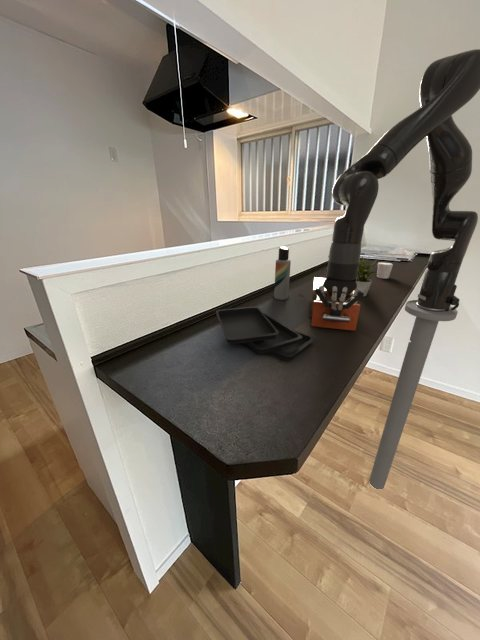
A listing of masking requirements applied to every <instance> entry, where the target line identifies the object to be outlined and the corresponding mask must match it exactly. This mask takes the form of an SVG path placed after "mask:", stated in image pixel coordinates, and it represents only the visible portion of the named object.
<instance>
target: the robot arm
mask: <svg viewBox="0 0 480 640" xmlns="http://www.w3.org/2000/svg"><path fill="white" fill-rule="evenodd" d="M479 91H480V48H479V49H478V48H477V49H476V48H475V49H471V50H467V51H461V52H459V53H456V54H452V55H449V56H445V57H442V58H438V59H437V60H434V61H432V62H431V63H430V64H429V65H428V67H427V68H426V70H425V71H424V73H423V75H422V78H421V80H420V85H419V105H420V107H419V108H417V109H416V110H415V111H414V112H412V113H410V114H409V115H407V116H405V117H404V118H403V119H401V120H400V121H398V122H397V123H396V124H394V125H393V126H391V127H390V128H389V129H388V130H387V131H386V132H385V133H384V134H383V135H382V136H381V137H380V138H379V140H377V142H376V143H375V144H374V145H373V146H372V147H371V148H370V149H369V151H368V152H367V153H366V154H365V155H363V156H362V157H360V158H359V159H358V160H357V161H355V162H354V163H352V164H351V165H350V166H349V167H348V168H346V169H345V170H343V172H342V173H341V174H340V175H339V176H338V178H337V179H336V180H335V182H334V184H333V187H332V191H331V194H332V199H333V201H334V202H335V203H336V204H337V205H340V206H346V207H347V208H346V211H345V213H344V214H343V216H340V217H337V218H336V219H335V221H334V224H333V229H332V237H331V242H330V248H329V252H328V260H327V268H326V275H325V278H326V279H325V281H324V283H323V285H321V286H320V287H316V289H315V292H316V294H317V295H318V296H319V298H320V299H321V301H322V302H323V304H324V305H325V306H326V307H329V308H330V315H335V316H341V311H342V309H345V308H346V309H348V308H350V307H351V306H352V305H353V304H354V303H355V302H357V301H358V302H359V300H360V299H361V298H363V297H364V296H363V295H364V293H363V291H362V290H360V289H359V288H358V287H357V284H356V278H358V274H357V271H358V267H359V266H358V265H359V263H360V259H361V253H362V242H363V236H364V229H365V225H366V223H367V221H368V219H369V216H370V214H371V211H372V210H373V207H374V205H375V203H376V200H377V197H378V194H379V187H380V185H379V179H383V178H385V177H386V176H388V175H389V174H390V173H391V172H392V171H394V169H395V168H396V167H397V166H398V165H399V164H400V163H401V162H402V161H403V160H404V158H406V156H408V154H409V153H410V152H411V151H412V150H413V149H414V148H415V147H416V146H418V144H419V143H421V142H422V141H423V140H424V139H425V138H426V142H427V151H428V162H429V163H428V165H429V167H428V169H429V179H430V180H429V181H430V187H431V198H432V199H431V202H432V211H431V212H432V213H431V233H432V234H431V235H432V236H433V238H434V239H436V240H440V241H450V242H453V244H452V245H451V246H450V247H447V248H444V249H438V250H434V251H432V252H431V253H430V255H429V258H428V263H427V266H426V269H425V273H424V276H423V279H422V283H421V287H420V291H419V293H418V294H417V299H416V300H417V303H416V306H417V307H419V308H421V309H424V310H428V311H433V312H444V311H449V308H450V306H452V307H453V308H451V310H455V309H456V310H457V309H458V307H459V306H460V298H459V297H457V296H455V294H456V290H457V287H458V286H457V284H456V282H457V279H458V276H459V275H458V274H459V273H460V269H461V266H462V263H463V260H464V258H465V255H466V253H467V251H468V248H469V245H470V242H471V240H472V238H473V236H474V232H475V230H476V227H477V226H478V225H477V224H478V220H479V215H478V212H476V211H473V210H451V209H450V203H451V201H452V200H453V199H454V197H455V196H456V195H458V193H459V192H460V191H461V190H462V188H463V187H464V186H465V185H466V184H467V182H468V180H469V179H470V178H471V175H472V172H473V149H472V145H471V143H470V141H469V140H468V138H467V137H466V136H465V134H464V132H462V131H461V129H460V128H459V126H458V125H457V124H456V122H455V120H454V118H453V115H454V114H455V113H457V112H459V110H460V109H462V108H463V107H464V106H466V105H467V104H468V103H469V102H470V101H471V100H472V99H473V98H474V97H475V96H476V95H477V94H478V92H479ZM324 288H325V289H326V291H327V292H328V294H329V295H330V296H331V302H330V301H328V299H327V298H326V296H325V295H324V292H325V291H324ZM353 291H354V292H353ZM352 292H353V296H352V297H350V298H349V299H348V300H347V301H346V302H345V303H344V301H345V298H346V297H348V296H349V295H350V294H351V293H352ZM337 297H339V300H338V304H337V307H336V300H337ZM332 322H337V321H332Z"/></svg>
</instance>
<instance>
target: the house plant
mask: <svg viewBox="0 0 480 640" xmlns="http://www.w3.org/2000/svg"><path fill="white" fill-rule="evenodd" d="M370 256H371V255H369V257H368V258H367V259H366V260H365V259H364V256H363V255H362V256H361V263H360V262H359V265H358V271H357V277H356V284H357V287H358V288H359V289H360V290H362V291H363V293H364V295H363V296H362V297H366V296H367V295H368V292H369V290H370V287H371V285H372V283H373V280H372V279H371V278H372V277H373V276H377V275H379V274H377V273H378V272H377V271H372V270H374V268H375V267H378V263H379V262H378V263H377V264H376V262H377V260H375V261H374V262H372V263H369V264H368V265H367V262H368V260H369V258H370ZM382 262H383V261H381V263H382ZM375 264H376V265H375ZM379 264H380V263H379ZM372 274H373V275H372Z"/></svg>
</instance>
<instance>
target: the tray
mask: <svg viewBox="0 0 480 640" xmlns="http://www.w3.org/2000/svg"><path fill="white" fill-rule="evenodd" d="M215 314H216V317H217V319H218V323H219V324H220V327H221V329H222V332H223V334H224V337H225V340H226V342H227V343H228V344H229V345H238V344H243V345H246V346H248V347H249V348H251V349H252V350H253V351H254V352H255V353H256V354H260V355H261V354H267V355H268V356H272V357H273V358H276V359H279V360H281V361H284V362H289V361H291V360H292V359H294V358H295V357H296V356H297V355H299V354H300V353H301V352H302V351H304V350H305V349H306V348H308V347H309V346H310V345H311V344H312V343H313V342H314V341H315V340H316V337H315V336H313V335H310V334H307V333H304V332H301V331H298V330H295V329H292V328H290V327H288V326H287V325H286V324H284V323H282V322H280V321H279V320H277V319H275V317H272V316H271V315H269V314H267V313H265V312H264V311H262V310H261V308H260V307H259V306H245V307H244V306H242V307H234V308H233V307H232V308H221V309H216V311H215Z"/></svg>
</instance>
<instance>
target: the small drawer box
mask: <svg viewBox="0 0 480 640" xmlns="http://www.w3.org/2000/svg"><path fill="white" fill-rule="evenodd" d="M325 279H326V277H317V276H316V277H315V276H314V277H313V285H312V294H311V304H310V312H309V313H310V314H309V318H310V319H312V313H313V305H314V300H315V301H316V296H317V294H316V292H315V289H316V287H320V286H321V285H323V283H324V281H325ZM324 291H325V292H324V293H328V292H327V291H326V289H325V288H324ZM353 292H354V291H353ZM353 292H352V293H351V294H350V295H353ZM356 304H359V300H358V301H357V302H356Z"/></svg>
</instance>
